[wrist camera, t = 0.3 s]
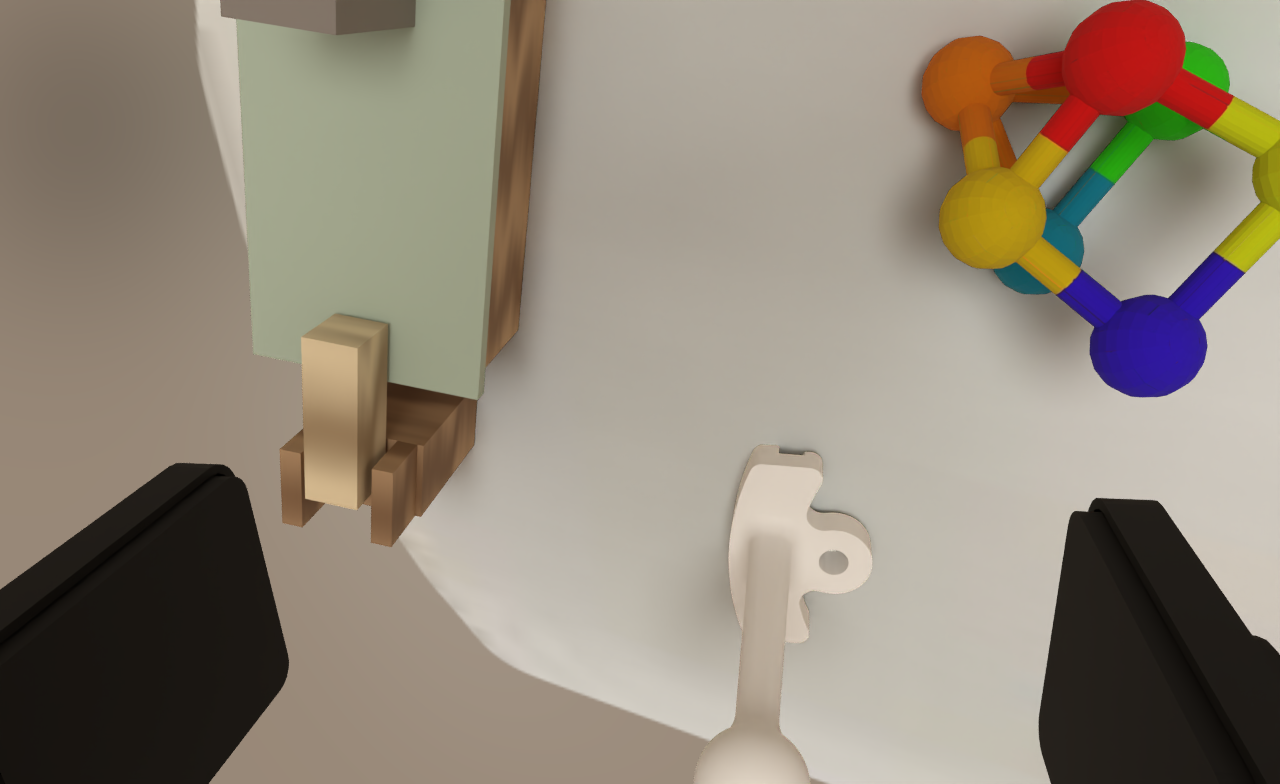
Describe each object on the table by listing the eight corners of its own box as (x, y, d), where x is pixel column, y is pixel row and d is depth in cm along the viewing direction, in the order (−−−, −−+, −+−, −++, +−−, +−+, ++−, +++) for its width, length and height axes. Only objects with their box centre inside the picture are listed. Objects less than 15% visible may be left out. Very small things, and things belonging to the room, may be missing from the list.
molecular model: (871, 56, 41) (1155, -147, 26) (1086, 105, 44) (1440, -50, 30) (851, 389, 40) (1134, 366, 25) (1073, 412, 43) (1431, 403, 29)
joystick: (736, 442, 49) (689, 708, 31) (880, 453, 48) (919, 736, 30) (728, 611, 54) (684, 927, 36) (860, 624, 52) (883, 960, 34)
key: (334, 313, 41) (300, 336, 38) (388, 324, 41) (357, 348, 38) (336, 467, 44) (305, 498, 42) (385, 477, 44) (357, 510, 41)
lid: (239, -160, 35) (104, -194, 28) (519, -120, 33) (446, -145, 27) (262, 347, 43) (164, 413, 37) (483, 393, 42) (422, 468, 36)
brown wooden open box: (338, -124, 41) (194, -156, 31) (553, -92, 40) (471, -116, 30) (341, 416, 53) (237, 512, 43) (507, 451, 52) (438, 557, 42)
